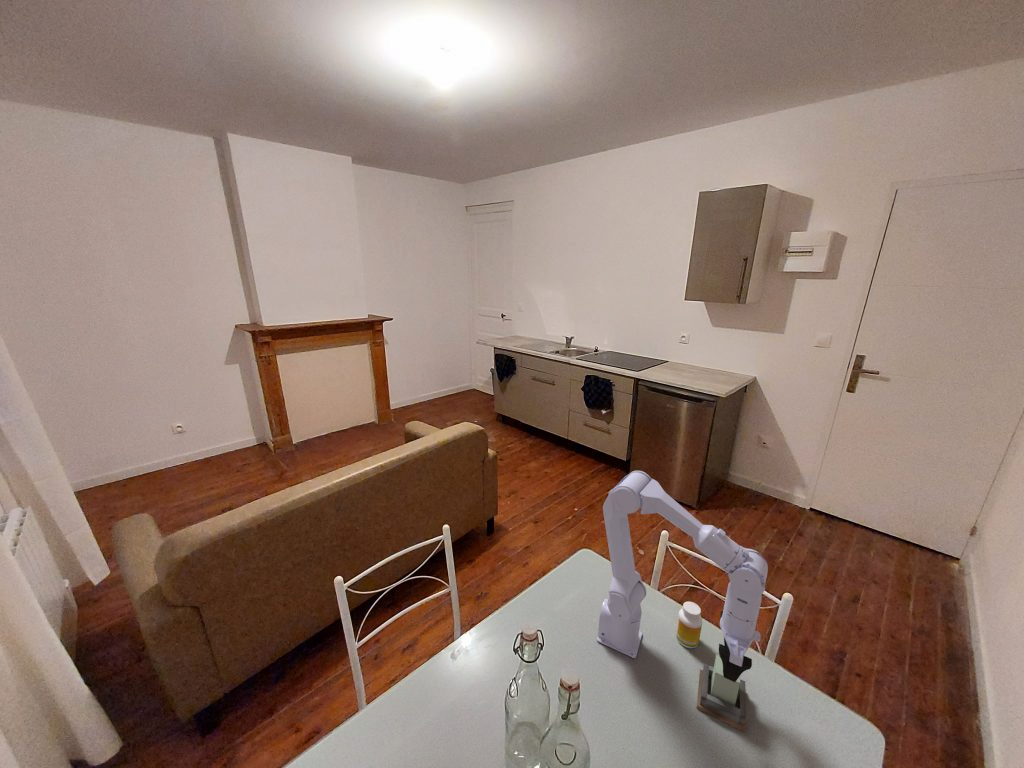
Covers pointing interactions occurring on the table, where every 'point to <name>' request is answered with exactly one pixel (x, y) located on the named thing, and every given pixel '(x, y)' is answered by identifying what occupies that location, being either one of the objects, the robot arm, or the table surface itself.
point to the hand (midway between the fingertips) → (729, 662)
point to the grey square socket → (721, 702)
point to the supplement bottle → (689, 625)
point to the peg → (723, 684)
